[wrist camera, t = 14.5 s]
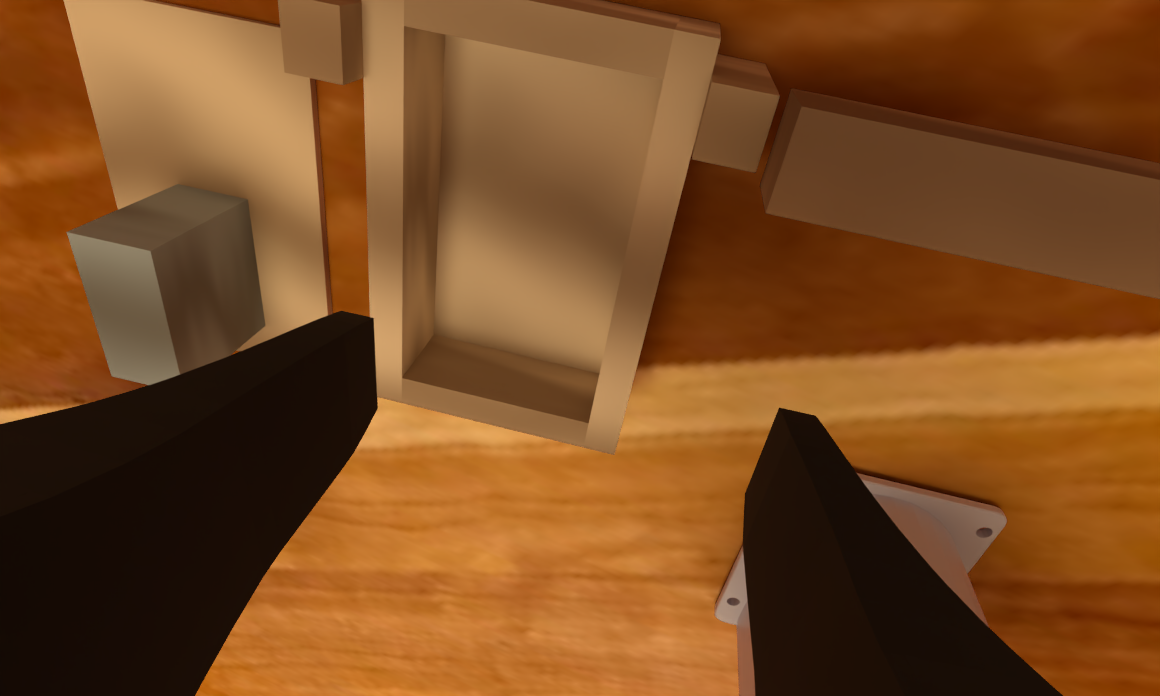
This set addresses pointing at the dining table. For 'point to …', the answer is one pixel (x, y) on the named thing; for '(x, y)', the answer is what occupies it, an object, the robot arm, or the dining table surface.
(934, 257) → the dining table surface
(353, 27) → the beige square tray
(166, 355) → the lid
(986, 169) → the rectangular bar
